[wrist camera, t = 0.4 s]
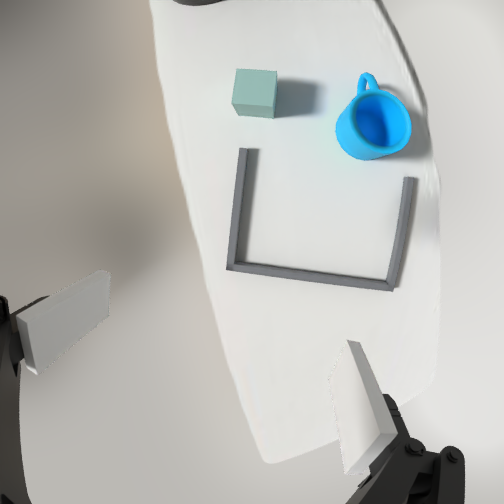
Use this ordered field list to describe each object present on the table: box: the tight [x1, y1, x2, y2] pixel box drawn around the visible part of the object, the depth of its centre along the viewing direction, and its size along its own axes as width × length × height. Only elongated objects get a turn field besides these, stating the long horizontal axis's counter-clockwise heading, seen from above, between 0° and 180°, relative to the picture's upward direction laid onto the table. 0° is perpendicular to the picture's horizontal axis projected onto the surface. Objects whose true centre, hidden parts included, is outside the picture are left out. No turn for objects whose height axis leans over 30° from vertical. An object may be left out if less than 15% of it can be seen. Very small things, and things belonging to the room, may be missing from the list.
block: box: [231, 69, 278, 119], centre depth 33 cm, size 5×5×6 cm
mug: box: [335, 72, 412, 160], centre depth 31 cm, size 12×8×8 cm
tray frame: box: [226, 148, 414, 292], centre depth 38 cm, size 17×25×2 cm
